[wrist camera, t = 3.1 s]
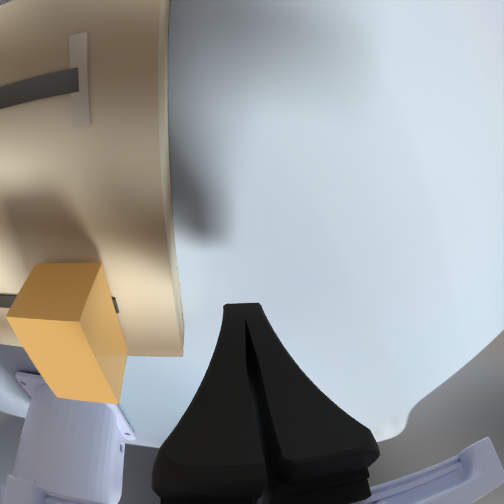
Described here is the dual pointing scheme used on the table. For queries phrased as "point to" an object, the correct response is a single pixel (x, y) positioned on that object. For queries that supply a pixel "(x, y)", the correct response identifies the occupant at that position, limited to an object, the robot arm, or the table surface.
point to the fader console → (90, 157)
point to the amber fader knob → (71, 331)
